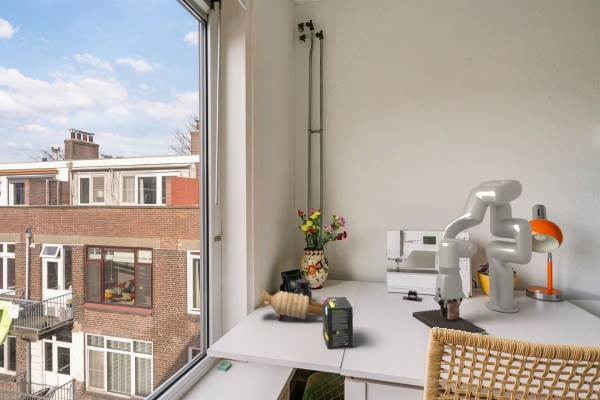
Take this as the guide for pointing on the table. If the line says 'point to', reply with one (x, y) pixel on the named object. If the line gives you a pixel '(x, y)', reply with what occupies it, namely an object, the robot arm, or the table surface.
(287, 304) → the tan long ribbed piece
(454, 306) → the walnut block
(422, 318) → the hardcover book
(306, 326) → the table surface
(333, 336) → the tampon box
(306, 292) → the ink bottle
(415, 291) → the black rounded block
